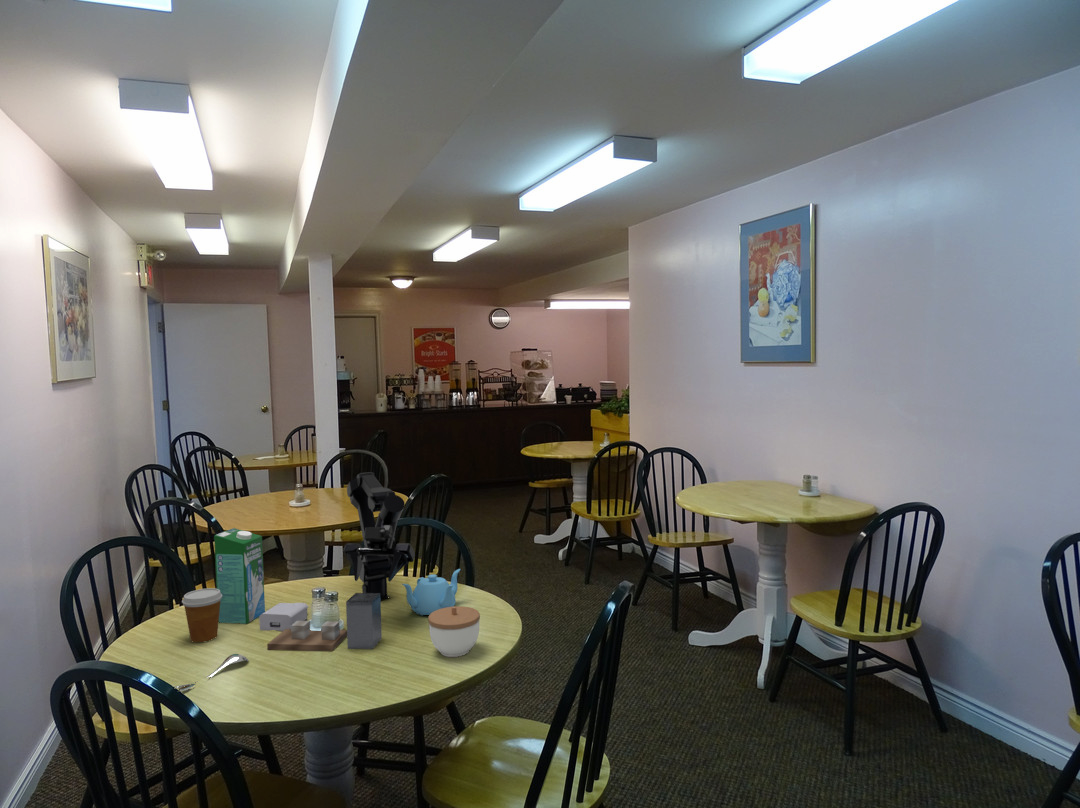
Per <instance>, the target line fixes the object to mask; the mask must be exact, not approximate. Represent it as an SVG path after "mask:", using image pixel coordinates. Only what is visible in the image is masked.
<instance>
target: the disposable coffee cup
mask: <svg viewBox="0 0 1080 808" xmlns="http://www.w3.org/2000/svg"><path fill="white" fill-rule="evenodd" d="M221 598H222V594H221V592H220V590H219V589H217V588H215V587H214V588H212V587H211V588H200V589H196V590H192V591H188V592H187V593H185V594H184V595H183V599H182V600H181V603H182V605H183V606H184V611H185V612H184V613H185V616H186V622H187V627H188V632H189V638H190V642H192V641H193V642H192V643H195V642H202V643H205V642H204V641H207V642H210V641H212V640H211V639H213V638H215V637H216V638H217V637H218V633H219V630H218V629H219V623H218V622H219V612H220V601H221ZM216 638H215V639H216ZM209 640H210V641H209ZM213 640H214V639H213Z"/></svg>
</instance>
